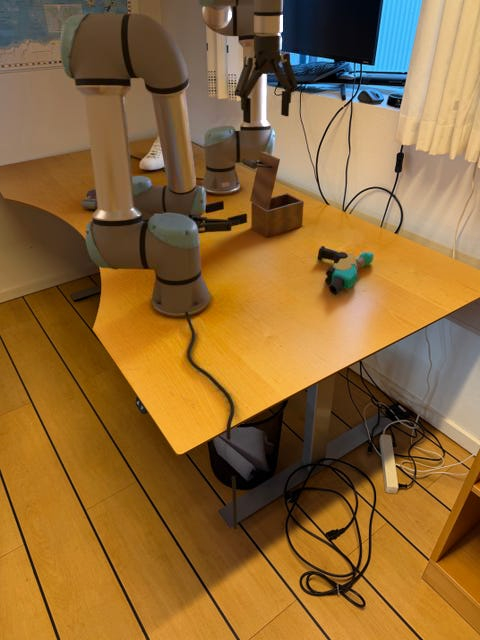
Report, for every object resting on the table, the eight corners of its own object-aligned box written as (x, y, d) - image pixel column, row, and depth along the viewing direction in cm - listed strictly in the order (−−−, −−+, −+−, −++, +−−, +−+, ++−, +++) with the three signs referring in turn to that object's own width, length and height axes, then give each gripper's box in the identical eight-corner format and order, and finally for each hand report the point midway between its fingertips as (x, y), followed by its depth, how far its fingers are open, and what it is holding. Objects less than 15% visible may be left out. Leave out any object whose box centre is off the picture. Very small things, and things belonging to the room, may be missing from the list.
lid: (263, 151, 149) (240, 149, 144) (280, 159, 143) (257, 156, 138) (252, 201, 157) (230, 200, 152) (268, 209, 151) (246, 209, 146)
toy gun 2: (295, 275, 127) (350, 289, 121) (327, 237, 145) (376, 248, 140) (294, 289, 129) (348, 303, 124) (326, 250, 148) (374, 261, 142)
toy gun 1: (139, 199, 183) (123, 215, 172) (94, 196, 187) (76, 211, 175) (137, 189, 181) (122, 205, 169) (92, 186, 184) (73, 201, 172)
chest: (285, 217, 168) (287, 193, 163) (302, 226, 162) (303, 201, 157) (251, 227, 162) (251, 202, 157) (266, 237, 156) (267, 211, 151)
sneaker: (133, 173, 208) (129, 144, 201) (161, 153, 230) (158, 127, 223) (155, 175, 205) (151, 146, 198) (180, 155, 227) (178, 129, 220)
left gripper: (157, 224, 151) (214, 210, 160) (194, 252, 133) (256, 235, 143) (154, 201, 147) (213, 189, 156) (193, 227, 129) (257, 211, 139)
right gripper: (295, 30, 134) (292, 110, 147) (220, 36, 123) (223, 122, 136) (313, 32, 129) (307, 115, 142) (236, 38, 118) (237, 128, 131)
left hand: (234, 211), depth 150 cm, fingers open, 13 cm apart
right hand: (266, 118), depth 139 cm, fingers open, 13 cm apart
